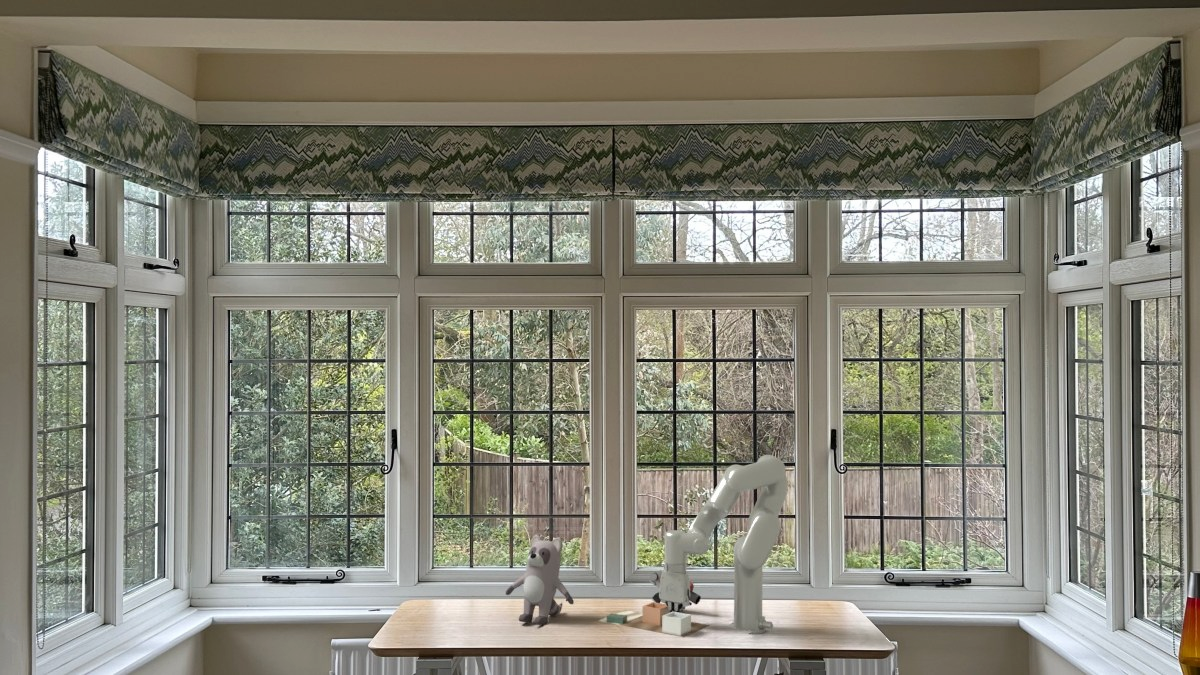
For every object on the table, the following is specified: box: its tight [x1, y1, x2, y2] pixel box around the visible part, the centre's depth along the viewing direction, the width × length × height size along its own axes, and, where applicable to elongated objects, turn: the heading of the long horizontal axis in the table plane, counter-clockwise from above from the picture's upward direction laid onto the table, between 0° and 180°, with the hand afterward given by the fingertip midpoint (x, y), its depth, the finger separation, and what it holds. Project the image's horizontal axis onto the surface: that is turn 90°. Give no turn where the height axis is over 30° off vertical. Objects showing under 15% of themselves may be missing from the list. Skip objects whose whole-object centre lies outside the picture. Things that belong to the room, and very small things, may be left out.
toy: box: [505, 534, 575, 626], centre depth 330 cm, size 21×21×29 cm
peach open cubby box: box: [641, 601, 670, 625], centre depth 328 cm, size 7×7×6 cm
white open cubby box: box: [661, 612, 692, 637], centre depth 315 cm, size 7×7×6 cm
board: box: [597, 609, 710, 638], centre depth 326 cm, size 34×18×1 cm, turn 56°
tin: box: [606, 613, 627, 624], centre depth 327 cm, size 6×4×2 cm, turn 66°
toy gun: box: [648, 570, 702, 613], centre depth 342 cm, size 4×20×15 cm, turn 53°
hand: (674, 621), depth 323 cm, fingers closed
